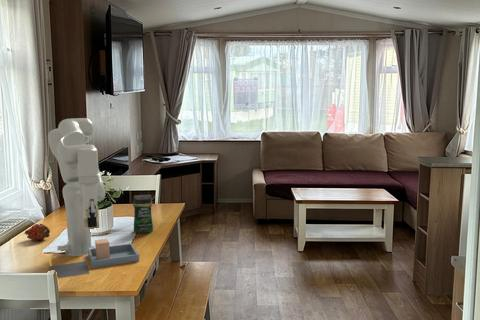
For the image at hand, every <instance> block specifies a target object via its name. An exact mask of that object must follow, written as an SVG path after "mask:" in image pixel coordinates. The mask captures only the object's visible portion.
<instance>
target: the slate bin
mask: <svg viewBox="0 0 480 320" xmlns="http://www.w3.org/2000/svg"><path fill="white" fill-rule="evenodd" d="M109 249H110V258H108V259H101V260H97V259H96V247H95V248H93V249H88V254H87V256H88V258H89V260H90V264H91V267H92V269H96V268H101V267H109V266H114V265H115V266H116V265H122V264H129V263H136V262H140V254H139V253H138V250H137V249H136V247H135V245H134V244H133V243H131V242H130V243H125V244H124V243H123V244H116V245H109Z"/></svg>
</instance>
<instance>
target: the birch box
mask: <svg viewBox="0 0 480 320" xmlns="http://www.w3.org/2000/svg"><path fill="white" fill-rule="evenodd" d="M89 209H91V208H89ZM95 211H96V220H97V226H96V227H88V210H86V211H85V210H84V209H83V213H84V226H85V228H86V229H94V228H99V226H100V213H99V207H98V206H97V209H96V208H95ZM90 212H91V211H90Z"/></svg>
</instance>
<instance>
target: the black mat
mask: <svg viewBox="0 0 480 320" xmlns="http://www.w3.org/2000/svg"><path fill="white" fill-rule="evenodd" d="M87 263H88V262H87V261H86V260H84V261H76V262H72V263H71V262H70V263H65V264H57V265H52V266H51V265H50V266H49V271H50V270H55V271H56V272H57V277H58V278H57V279H61V278H62V279H63V278H69V277H76V276H82V275H88V274H90V270H89V267H88V264H87Z"/></svg>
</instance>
